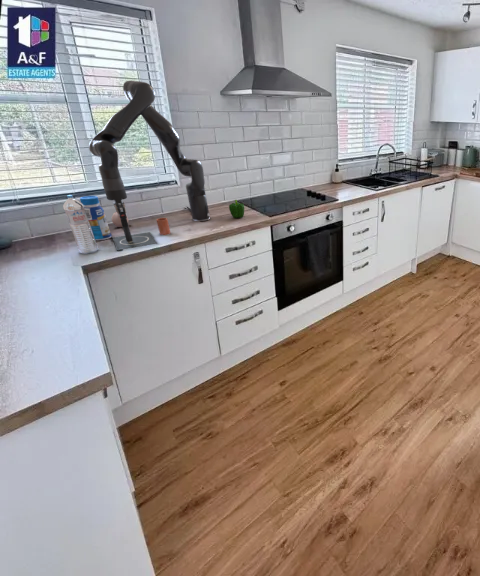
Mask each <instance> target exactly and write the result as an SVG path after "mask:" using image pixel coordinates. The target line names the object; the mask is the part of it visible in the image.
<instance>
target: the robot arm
mask: <svg viewBox="0 0 480 576" xmlns="http://www.w3.org/2000/svg"><path fill="white" fill-rule="evenodd" d="M122 90H123V93H124V95H125V97H126V99H127V100H128V101H129V102H128V104H126V105H125V106H124V107H122V108H121V109H120V110H119V111H117V112H116V113H114V114H113V115H112V116H111V117H110V119H109V120H108V122H107V123H106V124H105V126H104V127H103V128H102V130H100V131H99V132H98V133H97V134H96V135H95V136H94V137H93V138H91V140H90V142H89V144H88V150H89V152H90V153H91V154H92V155H93V156H95V157H98V158H100V159H101V164H99V165H98V171H99V174H100V178H101V183H102V186H103V190H104V194H105V197H106V199H107V200H108V201H114V202H113V203H112V204H113V207H114V208H115V212H117V214H118V216H120V219H121V222H122V225H123V227H128V226H129V221H128V222H127V217H128V216H127V209H126V204H125V202H124V201H122V200H126V199H127V198H128V195H127V191H126V188H125V184H124V182H123V179H122V176H121V173H120V169H119V153H118V149H117V147H116V145H115V144H116V143H119V142H121V141H122V140H123V139H124V137H125V135H126V134H127V132H128V131H129V130H130V128H131V126H132V125H133V124H134V123H135V121H136V120H137V119H139V117H140V116H141V117H142V118H143V119H144V121H145V123H146V124H147V125H148V126H149V128H150V130H151V131H152V133H154V135H155V137H156V138H157V140H158V141H159V142H160V144H161V145H162V146H163V147H164V149H165V150H166V152H167V153H168V155H169V156H170V158H171V160H172V161H173V163H174V166H175V167H176V168H177V170H178V172H179V174H180V175H182V176H184V177H190V178H191V182H188V183H186V184H185V190H186V194H187V199H188V203H189V204H188V205H189V207H188V206H186V207H187V208H185V207H184V210H189V212H190V213H191V220H192V221H194V222H206V221H208V220H211V216H210V211H209V204H208V200H207V193H206V189H205V185H206V182H205V174H204V167H203V164H202V163H201V161H200V160H198V159H193V158H187V157H186V156H185V155H184V153H183V152H182V150H181V139H180V136H179V133H178V132H177V130H176V128H175V127H174V125H172V123H171V122H170V121H169V120H168V119H167V118H166V117H164V115H162V114H161V113H160V112H158V111H157V110H156V109H155V108H154V106H153V103H154V101H155V99H156V91H155V89H154V87H153V86H152V85H151V84H150V83H147V82H145V81H139V80H133V79H132V80H126V81H124V83H123V85H122ZM121 215H125V216H121ZM123 227H122V228H123Z"/></svg>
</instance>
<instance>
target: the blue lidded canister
mask: <svg viewBox="0 0 480 576" xmlns="http://www.w3.org/2000/svg"><path fill="white" fill-rule="evenodd" d="M79 201H80V202H81V203H82V204H83V205H84V209H85V212H86V215H87V218H88V221H89V223H90V226H91V229H92V232H93V235H94V238H95V241H106V240H108V239H111V238H112V236H113V235H112V233H111V230H110V227H109V224H108V220H107V215H106V214H105V209H103V207H102V206H101V205H100V199H99V197H98V196H97V195H85V196H81V197H79Z"/></svg>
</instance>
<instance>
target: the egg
mask: <svg viewBox="0 0 480 576" xmlns="http://www.w3.org/2000/svg"><path fill="white" fill-rule="evenodd" d="M111 222H112V224H113V225H115V227H117V228H123V227H122V224H121V220H120V217H119V216H118V214H117V212H116V211H115V212H113V214H112V216H111ZM127 222H128V223H129V217H128V216H127Z"/></svg>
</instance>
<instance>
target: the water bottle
mask: <svg viewBox="0 0 480 576" xmlns="http://www.w3.org/2000/svg"><path fill="white" fill-rule="evenodd" d="M66 197H67V199H66V201H65V202H64V203H63V205H62V208H63V210H64V212H65V215H66V218H67V222H68V224H69V227H70V231H71V233H72V235H73V238H74V241H75V244H76V247H77V249H78V251H79V254H82V255H88V254H89V255H90V254H94V253H97V252H98V251H99V248H98V247H99V246H98V244H97V240H95V238H94V235H93V232H92V229H91V226H90V223H89V221H88V218H87V215H86V212H85V209H84V205H83V204H82V203H81V201H80V200H78V199H76V198H74V196H73V194H68V195H66Z"/></svg>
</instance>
